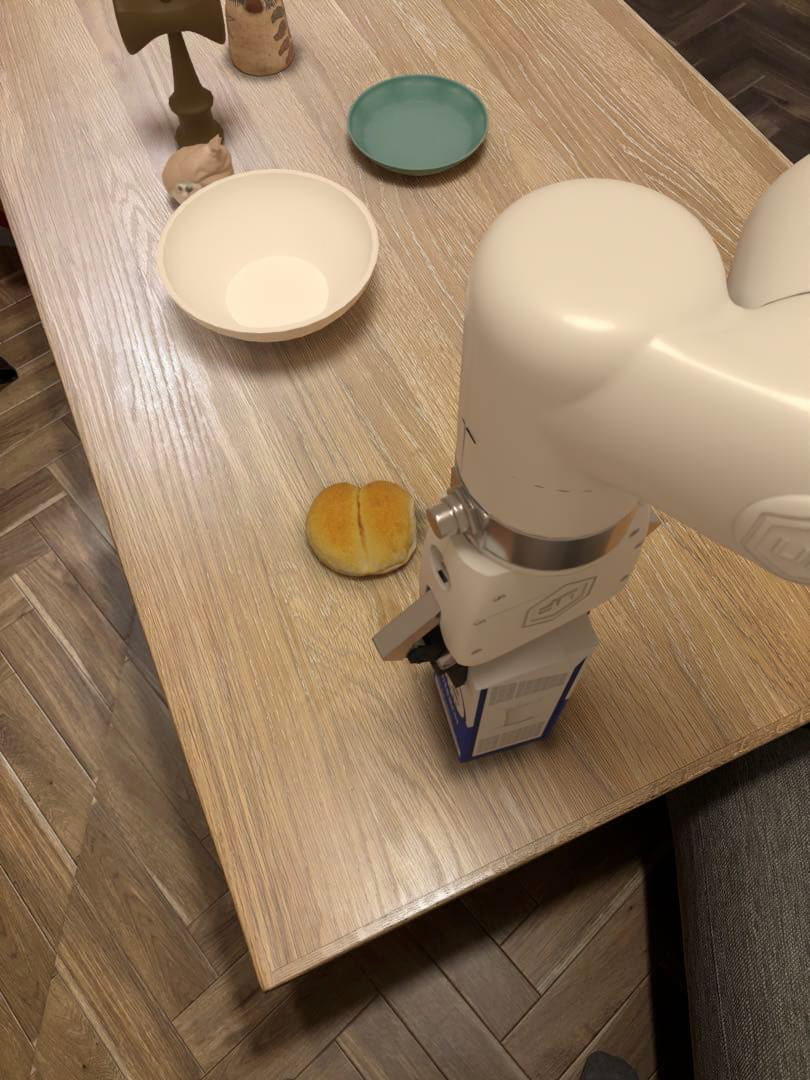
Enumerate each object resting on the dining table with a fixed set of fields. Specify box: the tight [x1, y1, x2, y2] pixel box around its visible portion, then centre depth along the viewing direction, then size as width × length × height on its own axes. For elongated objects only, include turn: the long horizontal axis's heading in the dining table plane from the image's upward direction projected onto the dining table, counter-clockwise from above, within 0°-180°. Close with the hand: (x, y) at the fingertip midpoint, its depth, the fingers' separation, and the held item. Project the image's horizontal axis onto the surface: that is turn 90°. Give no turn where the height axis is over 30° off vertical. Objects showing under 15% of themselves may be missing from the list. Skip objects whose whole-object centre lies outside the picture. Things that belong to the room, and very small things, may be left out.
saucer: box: [346, 73, 490, 177], centre depth 91 cm, size 15×15×3 cm
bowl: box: [156, 168, 380, 343], centre depth 79 cm, size 20×20×7 cm
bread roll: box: [305, 479, 418, 577], centre depth 69 cm, size 8×9×4 cm
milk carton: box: [433, 612, 600, 763], centre depth 55 cm, size 7×7×20 cm
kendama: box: [111, 0, 227, 149], centre depth 83 cm, size 6×10×20 cm, turn 103°
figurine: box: [224, 0, 295, 77], centre depth 93 cm, size 7×7×12 cm
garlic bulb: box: [161, 134, 235, 205], centre depth 84 cm, size 7×6×8 cm
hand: (507, 633), depth 50 cm, fingers closed on milk carton, 7 cm apart
